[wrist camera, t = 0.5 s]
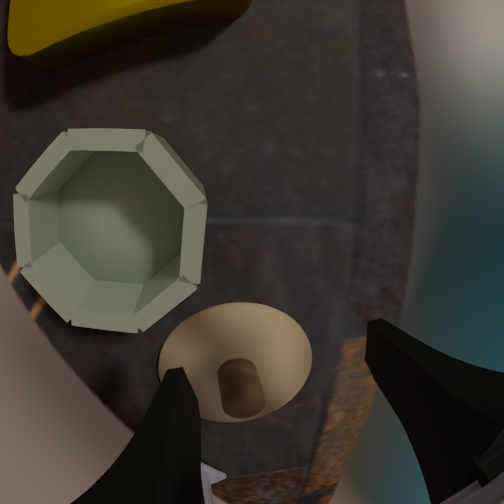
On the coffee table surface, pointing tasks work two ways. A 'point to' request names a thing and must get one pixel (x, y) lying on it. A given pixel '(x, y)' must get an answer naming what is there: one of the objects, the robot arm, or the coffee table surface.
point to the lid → (239, 359)
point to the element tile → (102, 24)
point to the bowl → (110, 228)
